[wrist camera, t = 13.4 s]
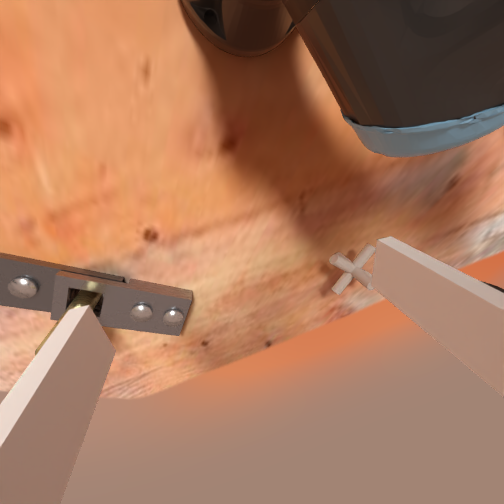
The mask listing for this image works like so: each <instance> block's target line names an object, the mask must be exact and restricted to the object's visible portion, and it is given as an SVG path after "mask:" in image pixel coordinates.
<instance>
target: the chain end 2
mask: <svg viewBox="0 0 504 504" xmlns="http://www.w3.org/2000/svg"><path fill="white" fill-rule="evenodd" d="M72 288H75V289H81V290H87V291H92V292H98V293H104V294H105V295H104V300H103V305H102V309H101V312H97V311H93V312H94V314H95V316H96V317H97V319H98V321H99V323H100V324H101V326H105V327H113V328H121V329H128V330H136V331H144V332H152V333H160V334H167V335H175V336H179V335H180V332H181V329H182V327H183V324H184V321H185V318H186V315H187V313H188V310H189V307H190V304H191V302H192V291H191V290H186V289H181V288H176V287H171V286H166V285H161V284H156V283H151V282H146V281H141V280H136V279H130V282H129V284H128V283H122V282H117V281H112V280H107V279H102V278H96V277H91V276H86V275H81V274H75V273H70V272H65V271H59V272H58V273H57V274H56V275H55V284H54V292H53V301H52V310H51V319H50V320H59V318H60V317H61V316H62V314H63V313H64V312H65V310H66V309H67V308H68V306H69V303H70V296H71V289H72Z"/></svg>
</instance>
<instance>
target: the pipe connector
mask: <svg viewBox="0 0 504 504" xmlns="http://www.w3.org/2000/svg"><path fill="white" fill-rule="evenodd" d="M375 251H376V248H375V247H373V246H372V245H370V244H368V243H367V244H366V245H365V247H364V248H363V249H362V250H361V252H360V253H359V254H358V255H357V257H356V258H355V259H354V260H353V262H352V261H351V260H349V259H348V258H347V257H345V256H344V255H343V254H342V253H340V252H338V253H336V254H333V255H332V256H331V257H330V260H329V262H330V264H332V265H334V266H336V267H338V268H340V269H342V270H343V271H345V272H344V273H343V274H342V276H341V277H340V278H339V279H338V281H337V282H336V283H335V284H334V286H333V287H332V288H331V289H332V290H333V291H334V292H335V293H337V294H339V295H340V294H341V293H342V291H343V290H344V289H345V288H346V286H347V285H348V284H349V283H350V282H351V280H352V279H353V278H356V279H357V280H358V281H359V282H360V283H361V284H362V285H364V286H365V287H366V288H367V289H368V290H373V289H374V288H373V287H372V286H371V280H372V274H370V273H368V272H367V271H365V270H363V269H361V268H362V267H363V266H364V264H365V263H366V262H367V261H368V259H369V258H370V257H371V256H372V254H373V253H374V252H375Z"/></svg>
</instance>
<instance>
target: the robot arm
mask: <svg viewBox="0 0 504 504" xmlns="http://www.w3.org/2000/svg"><path fill="white" fill-rule="evenodd" d="M181 1H182V4H183V6H184V8H185V10H186V12H187V13H188V15H189V17H190V18H191V20H192V21H193V23H194V24H195V26H196V27H197V28H198V30H199V31H200V32H201V33H202V34H203V35H204V36H205V37H206V38H207V39H208V40H209V41H210V42H211V43H213V44H214V45H215V46H217V47H218V48H220V49H222V50H224V51H226V52H228V53H230V54H233V55H237V56H244V57H251V56H258V55H262V54H264V53H267V52H269V51H271V50H272V49H274V48H275V47H277V46H278V45H279V44H280V43H282V42H283V41H284V40H285V39H286V37H287V36H288V35H289V34H290V33H291V32H292V31H293V30H294V28H295V27H296V28H297V30H298V32H299V34H300V36H301V37H302V39H303V41H304V43H305V45H306V46H307V48H308V50H309V52H310V53H311V55H312V57H313V59H314V61H315V62H316V64H317V66H318V68H319V69H320V71H321V73H322V75H323V77H324V78H325V80H326V82H327V84H328V86H329V88H330V90H331V91H332V93H333V95H334V97H335V99H336V101H337V103H338V105H339V106H340V108H341V113H342V116H343V118H344V120H345V121H346V122H347V123H348V124H349V125H351V126H352V128H353V129H354V131H355V132H356V134H357V135H358V137H359V139H360V140H361V142H362V143H363V144H364V146H365V147H366V148H368V149H369V150H371V151H372V152H374V153H379V154H383V155H385V156H389V157H415V156H422V155H428V154H433V153H437V152H441V151H445V150H448V149H452V148H455V147H458V146H461V145H464V144H466V143H469V142H471V141H474V140H476V139H479V138H481V137H483V136H485V135H487V134H489V133H491V132H493V131H495V130H497V129H499V128H500V127H502V126H504V0H181ZM314 5H315V6H314ZM313 6H314V7H313ZM312 7H313V8H312ZM311 8H312V9H311ZM310 9H311V10H310ZM305 15H306V16H305ZM304 16H305V17H304ZM298 23H299V24H298ZM297 24H298V25H297ZM371 286H372V287H373V288H374V289H375V290H377V291H378V292H379V293H380V294H381V295H383V296H384V297H385V298H386V299H387V300H389V301H390V302H391V303H392V304H393V305H394V306H396V307H397V308H398V309H399V310H400V311H402V312H403V313H404V314H405V315H406V316H408V317H409V318H410V319H411V320H412V321H414V322H415V323H416V324H417V325H418V326H419V327H421V328H422V329H423V330H424V331H425V332H427V333H428V334H429V335H430V336H431V337H433V338H434V339H435V340H436V341H437V342H439V343H440V344H441V345H442V346H443V347H445V348H446V349H447V350H448V351H449V352H450V353H452V354H453V355H454V356H455V357H457V358H458V359H459V360H460V361H461V362H462V363H463V364H465V365H466V366H467V367H468V368H470V369H471V370H472V371H473V372H474V373H475V374H477V375H478V376H479V377H480V378H481V379H483V380H484V381H485V382H486V383H487V384H489V385H490V386H491V387H492V388H493V389H494V390H496V391H497V392H498V393H499V394H500V395H502V396H503V397H504V289H502V288H500V287H498V286H494V285H491V284H488V283H485V282H482V281H479V280H477V279H475V278H473V277H471V276H469V275H467V274H465V273H463V272H461V271H459V270H457V269H455V268H453V267H451V266H449V265H447V264H445V263H443V262H441V261H439V260H437V259H435V258H433V257H431V256H429V255H427V254H425V253H423V252H421V251H419V250H417V249H415V248H413V247H411V246H409V245H407V244H405V243H403V242H401V241H399V240H397V239H395V238H393V237H391V236H390V237H386V238H381V239H377V243H376V251H375V258H374V265H373V273H372V280H371ZM115 352H116V350H115V348H114V347H113V345H112V343H111V342H110V340H109V338H108V336H107V335H106V333H105V331H104V330H103V328H102V326H101V324H100V323H99V321H98V319H97V317H96V316H95V314H94V312H93V311H92V309H91V307H90V305H87V306H83V307H78V308H74V309H70V310H68V312H67V313H66V315H65V316H64V317H63V319H62V320H61V321H60V323H59V324H58V326H57V327H56V328H55V330H54V331H53V332H52V334H51V335H50V337H49V338H48V339H47V341H46V342H45V344H44V345H43V346H42V348H41V349H40V350H39V352H38V353H37V355H36V356H35V357H34V359H33V360H32V361H31V363H30V364H29V366H28V367H27V368H26V370H25V371H24V373H23V374H22V375H21V377H20V378H19V379H18V381H17V382H16V384H15V385H14V386H13V388H12V389H11V390H10V392H9V393H8V395H7V396H6V397H5V399H4V400H3V401H2V403H1V404H0V504H60V503H61V500H62V497H63V495H64V492H65V489H66V487H67V483H68V481H69V478H70V476H71V473H72V470H73V467H74V465H75V462H76V459H77V456H78V454H79V451H80V448H81V445H82V443H83V440H84V437H85V435H86V432H87V429H88V426H89V424H90V420H91V418H92V415H93V413H94V410H95V407H96V404H97V402H98V399H99V396H100V393H101V391H102V388H103V385H104V382H105V380H106V377H107V374H108V372H109V369H110V366H111V363H112V361H113V358H114V355H115Z"/></svg>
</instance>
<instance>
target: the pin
mask: <svg viewBox="0 0 504 504" xmlns="http://www.w3.org/2000/svg"><path fill="white" fill-rule="evenodd" d="M101 296H102V293H98V292H92V291H87V290H80V291H79V293H78V294H77V296H76V297H75V298H74V300H73V301H72V302H71V304H70V305H69V306H68V308H67V309H66V310H65V312H64V313H63V314H62V316H61V317H60V318H59V320H58V321H57V322H56V324H55V325H54V327H53V328H52V329H51V331H50V332H49V333H48V335H47V336H46V337H45V339H44V340H43V341H42V343H41V344H40V345H39V347H38V348H37V349H36V351H35V356H36V355H37V353H38V352H39V350H40V349H41V348H42V346H43V345H44V344H45V342H46V341H47V339H48V338H49V337H50V335H51V334H52V332H53V331H54V330H55V328H56V327H57V326H58V324H59V323H60V321H61V320H62V319H63V317H64V316H65V315H66V313H67V312H68V310H70V309H74V308H78V307H83V306H87V305H90V307H91V309H92V311H93V310H94V308H95V306H96V305H97V303H98V301H99V300H100V298H101Z"/></svg>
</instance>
